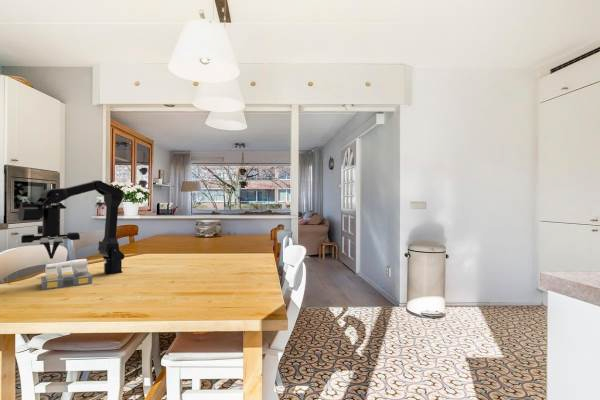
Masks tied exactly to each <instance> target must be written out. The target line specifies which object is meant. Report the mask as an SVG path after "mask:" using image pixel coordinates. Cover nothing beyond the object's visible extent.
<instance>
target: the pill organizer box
mask: <svg viewBox="0 0 600 400" xmlns="http://www.w3.org/2000/svg"><path fill="white" fill-rule="evenodd" d="M40 279H41V280H40V281H41V282H40V286H41V290H42V291H45V290H51V289H59V288H60V289H61V288H67V287H69V288H70V287H73V286H74V287H75V286H82V285H84V286H85V285H90V284H93V275H92V274H91V273H90V272H89V270H88V271H85V272H76V273H73V277H65V278H62V274H58V278H57V279H49V280H46V275H42V276H40Z"/></svg>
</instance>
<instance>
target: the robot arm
mask: <svg viewBox="0 0 600 400" xmlns="http://www.w3.org/2000/svg"><path fill="white" fill-rule="evenodd" d="M93 191H96V193H98V194H100V195H102V196H103V201H104V204H105V206H106V210H105V211H106V212H105V213H106V214H105V224H104V237H103V239H102V240H101V241H100V240H99V241H98V248H97V251H98V252H99V254H100V255H101V256H102V258H103V260H105V262H104V263H103V272H104V273H105V274H106V275H114V274H120V273H123V271H122V268H123V267H122V264H123V263H122V261H123V260H124V259H125V256H126V255H125V254H124V253H123V252H122V251H120V244H119V242H118V240H117V231H118V229H117V228H118V218H119V217H118V216H119V207H120V205H121V204H122V201H123V198H124V191H123V190H122V189H121V188H119V187H114V186H113V185H110V184H109V183H108V184H107V183H105V181H102V180H101V179H100V180H99V179H98V180H92V181H88V182H85V183H81V184H76V185H73V186H68V187H62V188H60V187H58V188H47V189H44V190H42V191H41V193H40V195H39V198H38V199H37V200H36V201H35V202H34V203H20V205H19V207H18V210H17V219H18V221H19V222H32V221H33V222H34V221H36V222H38V221H40V220H41V219H42V225H37V235H35V234H33V233H30V234H22V235H21V241H20V242H21V243H20V244H30V243H33V242H35V241H39V245H43V246H44V248H45V249H46V251H47V254H48V257H49V259H50V260H52V259H53V258H54V256H55V253H56V251H57V249H58V247H59V246H60V244H63V243H64V241H63V240H64V239H65V240H67V239H68V240H70V241H77V240H78V241H79V240H81V239H80V236H81V235H80V233H79V232H77V231H74V232H73V231H72V232H71V231H70V232H67V233H66V234H61V210H64V209H67V206H65V205H64V204H63V203H62V202H63V201H65V200H67V199H69V198H70V197H73V196H74V197H75V196H76V195H77V196H78V195H80V194H84V193H87V192H93ZM51 240H53V241H52V248H51V243H50V241H51Z"/></svg>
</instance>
